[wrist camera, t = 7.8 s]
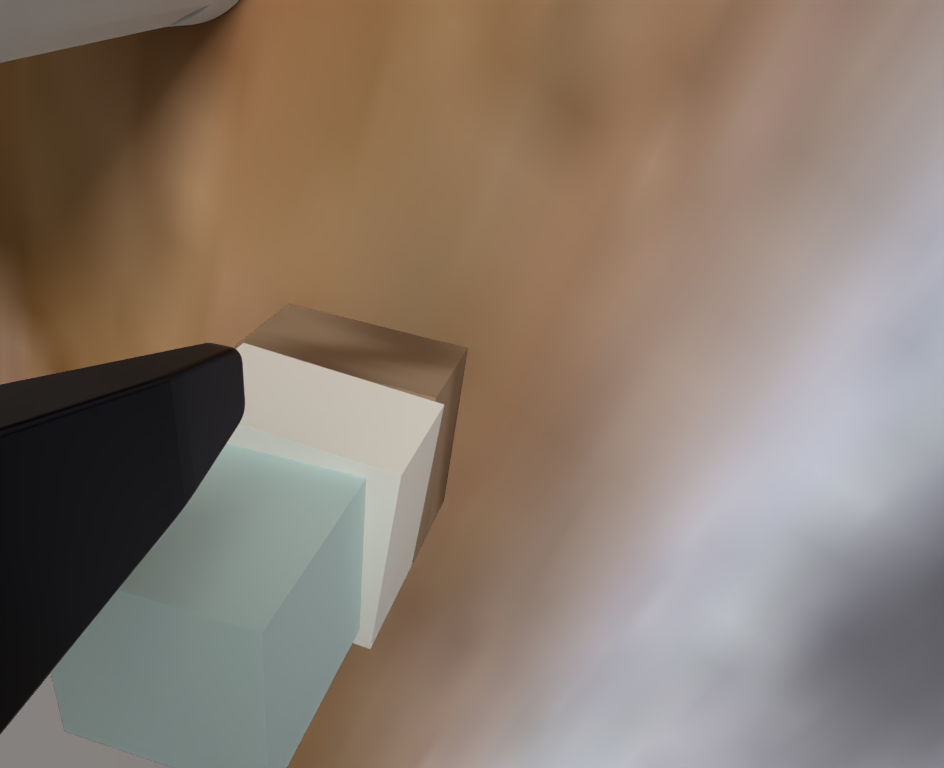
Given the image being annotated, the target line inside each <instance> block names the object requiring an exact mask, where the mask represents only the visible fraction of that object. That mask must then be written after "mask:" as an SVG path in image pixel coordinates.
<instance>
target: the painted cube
mask: <svg viewBox="0 0 944 768" xmlns="http://www.w3.org/2000/svg"><path fill="white" fill-rule="evenodd" d="M365 496H366V478H362V477H358V476H354V475H350V474H346V473H342V472H338V471H334V470H330V469H326V468H322V467H318V466H314V465H310V464H306V463H302V462H298V461H294V460H290V459H286V458H282V457H278V456H274V455H270V454H266V453H262V452H258V451H254V450H250V449H246V448H242V447H238V446H234V445H230V444H226V445H225V447H224V448H223V450H222V451H221V453H220V454H219V456H218V457H217V459H216V461H215V462H214V464H213V465H212V467H211V468H210V470H209V471H208V473H207V475H206V476H205V478H204V479H203V481H202V482H201V484H200V485H199V487H198V488H197V490H196V492H195V493H194V494H193V496H192V497H191V499H190V500H189V502H188V503H187V505H186V506H185V507H184V509H183V510H182V511H181V513H180V514H179V515H178V516H177V518H176V519H175V520H174V522H173V523H172V524H171V525H170V526H169V528H168V529H167V530H166V531H165V533H164V534H163V535H162V536H161V538H160V539H159V540H158V541H157V542H156V544H155V545H154V546H153V547H152V549H151V550H150V551H149V552H148V553H147V555H146V556H145V557H144V558H143V560H142V561H141V562H140V563H139V565H138V566H137V567H136V568H135V569H134V571H133V572H132V573H131V574H130V576H129V577H128V578H127V579H126V581H125V582H124V583H123V584H122V585H121V587H120V588H119V589H118V590H117V592H116V593H115V594H114V595H113V597H112V598H111V599H110V600H109V601H108V603H107V604H106V605H105V606H104V608H103V609H102V610H101V611H100V612H99V614H98V615H97V616H96V617H95V619H94V620H93V621H92V622H91V624H90V625H89V626H88V627H87V628H86V630H85V631H84V632H83V633H82V635H81V636H80V637H79V638H78V640H77V641H76V642H75V643H74V644H73V646H72V647H71V648H70V649H69V651H68V652H67V653H66V654H65V656H64V657H63V658H62V659H61V660H60V662H59V663H58V664H57V665H56V667H55V668H54V669H53V670H52V671H51V677H52V681H53V685H54V689H55V694H56V698H57V702H58V706H59V710H60V713H61V718H62V722H63V726H64V731H65V732H68V733H71V734H74V735H77V736H80V737H83V738H86V739H89V740H92V741H95V742H98V743H101V744H104V745H107V746H110V747H113V748H116V749H118V750H121V751H124V752H127V753H130V754H133V755H137V756H139V757H143V758H145V759H148V760H151V761H154V762H157V763H160V764H163V765H166V766H169V767H172V768H287V766H288V764H289V762H290V761H291V759H292V757H293V755H294V753H295V751H296V749H297V747H298V745H299V743H300V742H301V740H302V738H303V736H304V734H305V732H306V730H307V728H308V726H309V724H310V723H311V721H312V719H313V717H314V715H315V713H316V711H317V709H318V707H319V705H320V704H321V702H322V700H323V698H324V696H325V694H326V692H327V690H328V688H329V686H330V684H331V683H332V681H333V679H334V677H335V675H336V673H337V671H338V669H339V667H340V665H341V664H342V662H343V660H344V658H345V656H346V654H347V652H348V650H349V648H350V646H351V645H352V643H353V641H354V639H355V637H356V635H357V633H358V631H359V629H360V609H361V587H362V564H363V541H364V518H365Z"/></svg>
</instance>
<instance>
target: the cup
mask: <svg viewBox="0 0 944 768" xmlns="http://www.w3.org/2000/svg"><path fill="white" fill-rule="evenodd" d="M238 1H239V0H0V63H2V62H7V61H11V60H16V59H21V58H25V57H30V56H34V55H39V54H43V53H48V52H53V51H57V50H62V49H66V48H71V47H76V46H80V45H85V44H89V43H94V42H99V41H103V40H108V39H112V38H117V37H122V36H126V35H131V34H135V33H140V32H145V31H149V30H154V29H158V28H163V27H171V26H184V25H194V24H199V23H203V22H207V21H209V20H212V19H214V18H216V17H218V16H220V15H222V14H223V13H225V12H226V11H228V10H229V9H230V8H232V7H233V6H234V5H235V4H236V3H237V2H238Z"/></svg>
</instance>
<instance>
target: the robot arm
mask: <svg viewBox="0 0 944 768" xmlns="http://www.w3.org/2000/svg"><path fill="white" fill-rule="evenodd" d="M244 410H245V392H244V377H243V363H242V357H241V355H240V353H239V352H238V351H237V350H236V349H235V348H232V347H228V346H223V345H219V344H214V343H204V344H199V345H194V346H189V347H184V348H179V349H174V350H169V351H165V352H160V353H155V354H150V355H145V356H140V357H135V358H130V359H125V360H120V361H115V362H110V363H105V364H100V365H95V366H90V367H85V368H81V369H76V370H71V371H66V372H61V373H56V374H51V375H46V376H41V377H36V378H31V379H26V380H21V381H16V382H11V383H6V384H2V385H0V734H1V733H2V732H3V730H4V729H5V728H6V727H7V725H8V724H9V723H10V722H11V721H12V719H13V718H14V717H15V716H16V715H17V713H18V712H19V711H20V709H21V708H22V707H23V706H24V704H25V703H26V702H27V701H28V700H29V699H30V697H31V696H32V695H33V694H34V692H35V691H36V690H37V689H38V687H39V686H40V685H41V684H42V683H43V681H44V680H45V679H46V678H47V676H48V675H49V674H50V673H51V671H52V670H53V669H54V668H55V667H56V665H57V664H58V663H59V662H60V660H61V659H62V658H63V657H64V656H65V654H66V653H67V652H68V651H69V649H70V648H71V647H72V646H73V644H74V643H75V642H76V641H77V640H78V638H79V637H80V636H81V635H82V633H83V632H84V631H85V630H86V628H87V627H88V626H89V625H90V624H91V622H92V621H93V620H94V619H95V617H96V616H97V615H98V614H99V612H100V611H101V610H102V609H103V608H104V606H105V605H106V604H107V603H108V601H109V600H110V599H111V598H112V597H113V595H114V594H115V593H116V592H117V590H118V589H119V588H120V587H121V585H122V584H123V583H124V582H125V581H126V579H127V578H128V577H129V576H130V574H131V573H132V572H133V571H134V569H135V568H136V567H137V566H138V565H139V563H140V562H141V561H142V560H143V558H144V557H145V556H146V555H147V553H148V552H149V551H150V550H151V549H152V547H153V546H154V545H155V544H156V542H157V541H158V540H159V539H160V538H161V536H162V535H163V534H164V533H165V531H166V530H167V529H168V528H169V526H170V525H171V524H172V523H173V522H174V520H175V519H176V518H177V516H178V515H179V514H180V513H181V511H182V510H183V509H184V507H185V506H186V505H187V503H188V502H189V500H190V499H191V497H192V496H193V494H194V493H195V492H196V490H197V488H198V487H199V485H200V484H201V482H202V481H203V479H204V478H205V476H206V475H207V473H208V471H209V470H210V468H211V467H212V465H213V464H214V462H215V461H216V459H217V457H218V456H219V454H220V453H221V451H222V450H223V448H224V447H225V445H226V443H227V442H228V440H229V439H230V437H231V436H232V434H233V433H234V431H235V430H236V428H237V426H238V425H239V423H240V421H241V419H242V417H243V414H244Z"/></svg>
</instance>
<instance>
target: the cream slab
mask: <svg viewBox="0 0 944 768" xmlns="http://www.w3.org/2000/svg"><path fill="white" fill-rule="evenodd" d="M236 350H237V351H238V352H239V353H240V355H241V357H242V363H243V377H244V392H245V410H244V414H243V417H242V419H241V421H240V423H239V425H238V426H237V428H236V430H235V431H234V433H233V434H232V436H231V437H230V439H229V440H228V442H227V443H226V444H230V445H234V446H238V447H242V448H246V449H250V450H254V451H258V452H262V453H266V454H270V455H274V456H278V457H282V458H286V459H290V460H294V461H298V462H302V463H306V464H310V465H314V466H318V467H322V468H326V469H330V470H334V471H338V472H342V473H346V474H350V475H354V476H358V477H362V478H366V496H365V518H364V541H363V564H362V587H361V609H360V629H359V631H358V633H357V635H356V637H355V639H354V641H353V643H354V644H357V645H360V646H363V647H365V648H368V649H371V647H372V645H373V643H374V641H375V639H376V637H377V635H378V632H379V630H380V628H381V626H382V624H383V622H384V620H385V618H386V616H387V614H388V612H389V610H390V608H391V606H392V604H393V602H394V600H395V598H396V596H397V594H398V592H399V590H400V588H401V586H402V584H403V582H404V580H405V578H406V576H407V574H408V572H409V570H410V568H411V566H412V561H413V556H414V551H415V547H416V542H417V537H418V532H419V527H420V522H421V517H422V512H423V507H424V502H425V497H426V493H427V488H428V483H429V478H430V473H431V468H432V463H433V458H434V453H435V448H436V443H437V438H438V434H439V429H440V424H441V419H442V414H443V409H444V404H441V403H438V402H434V401H431V400H428V399H425V398H421V397H418V396H415V395H412V394H409V393H405V392H402V391H399V390H396V389H392V388H389V387H386V386H383V385H379V384H376V383H373V382H370V381H366V380H363V379H360V378H357V377H353V376H350V375H347V374H344V373H340V372H337V371H334V370H331V369H327V368H324V367H321V366H318V365H314V364H311V363H308V362H305V361H301V360H298V359H295V358H292V357H288V356H285V355H282V354H279V353H275V352H272V351H269V350H266V349H262V348H259V347H256V346H253V345H249V344H246V343H243V344H241V345H240V346H239V347H238V348H236Z"/></svg>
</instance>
